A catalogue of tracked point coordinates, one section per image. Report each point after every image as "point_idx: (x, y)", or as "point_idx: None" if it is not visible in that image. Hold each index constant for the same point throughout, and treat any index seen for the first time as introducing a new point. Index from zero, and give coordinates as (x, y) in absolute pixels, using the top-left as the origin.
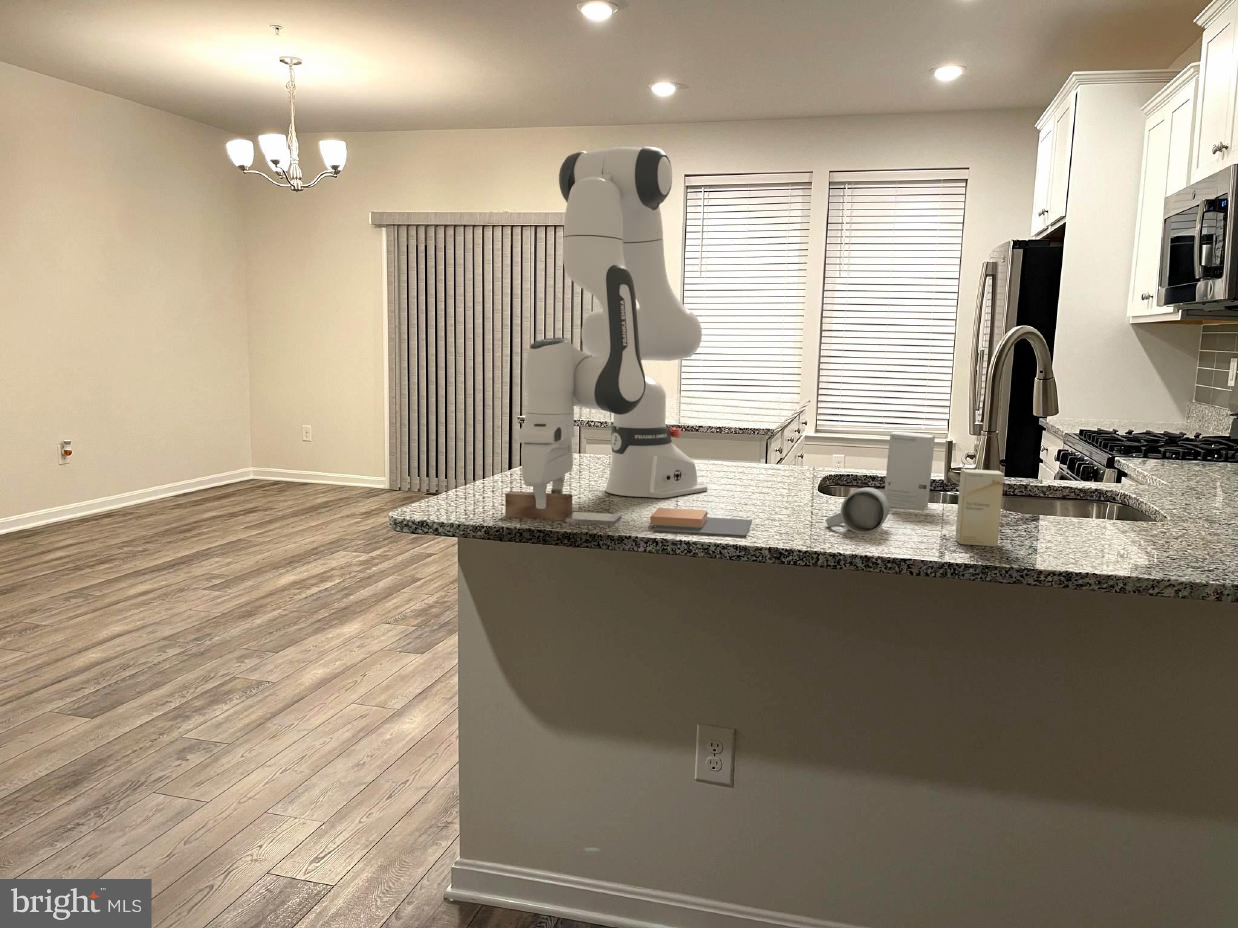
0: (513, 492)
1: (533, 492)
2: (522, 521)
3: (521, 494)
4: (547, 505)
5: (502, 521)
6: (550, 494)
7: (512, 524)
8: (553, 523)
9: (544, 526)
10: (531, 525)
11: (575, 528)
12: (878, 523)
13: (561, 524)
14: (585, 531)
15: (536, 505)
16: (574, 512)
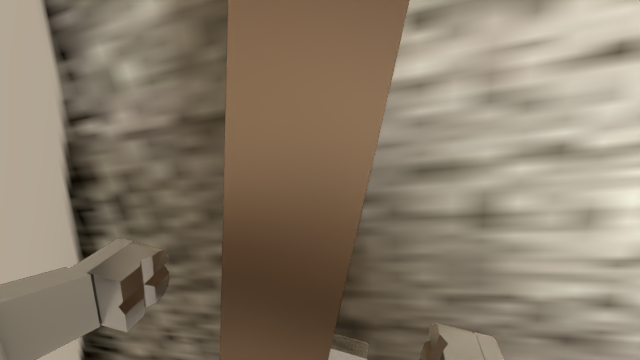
0: (322, 36)
1: (344, 240)
2: (207, 131)
3: (229, 143)
4: (156, 295)
5: (178, 18)
6: (276, 351)
7: (132, 91)
8: (204, 263)
9: (145, 232)
10: (143, 181)
11: (152, 327)
12: None
13: (196, 289)
14: (125, 348)
15: (110, 245)
16: (352, 357)
